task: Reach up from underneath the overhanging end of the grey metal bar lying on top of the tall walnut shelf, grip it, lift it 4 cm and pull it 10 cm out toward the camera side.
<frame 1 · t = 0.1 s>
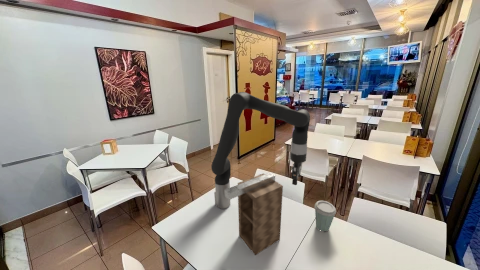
hand: (296, 180, 100), 29 cm above the table, fingers open, 8 cm apart
walnut shelf: (259, 237, 102), on the table
metal bar: (251, 187, 90), point 32 cm above the table, touching walnut shelf
disposable coffee cup: (322, 228, 107), on the table
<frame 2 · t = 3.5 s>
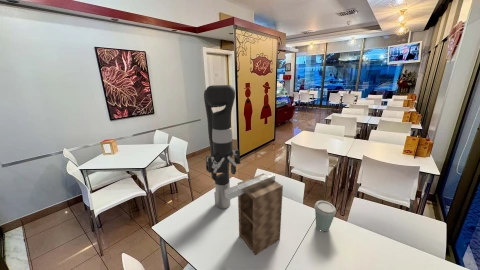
hand: (224, 176, 79), 42 cm above the table, fingers open, 8 cm apart
nothing on the table moved.
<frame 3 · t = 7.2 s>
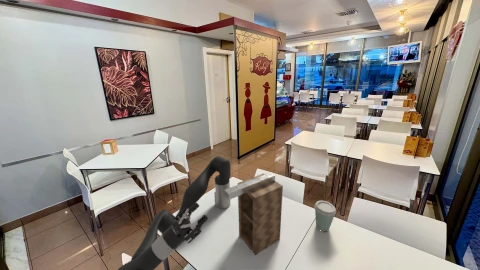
hand: (202, 209, 77), 31 cm above the table, fingers open, 8 cm apart
nothing on the table moved.
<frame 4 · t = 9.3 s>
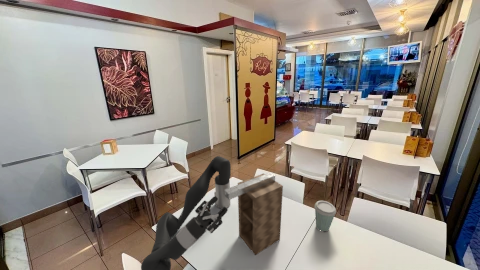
hand: (221, 202, 82), 31 cm above the table, fingers open, 8 cm apart
nothing on the table moved.
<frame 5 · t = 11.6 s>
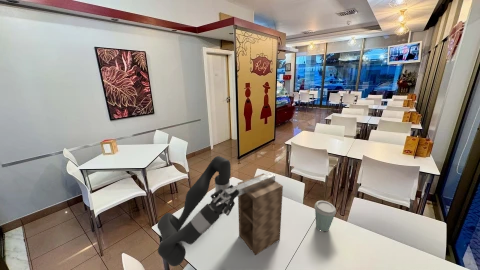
hand: (235, 188, 84), 35 cm above the table, fingers closed on metal bar, 3 cm apart
metal bar: (251, 187, 90), point 32 cm above the table, touching gripper, walnut shelf
everything else where it was.
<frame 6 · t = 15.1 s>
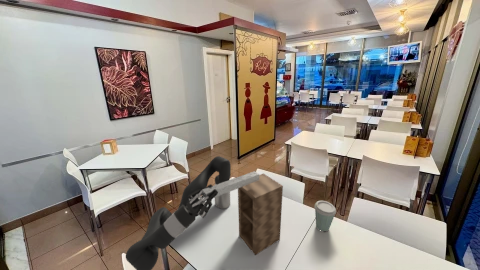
hand: (214, 188, 78), 39 cm above the table, fingers closed on metal bar, 3 cm apart
metal bar: (232, 187, 83), point 36 cm above the table, touching gripper
everything else where it was.
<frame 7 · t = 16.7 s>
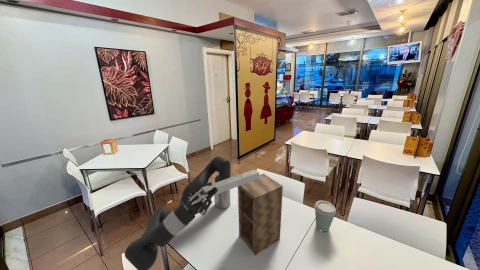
hand: (213, 186, 78), 40 cm above the table, fingers closed on metal bar, 3 cm apart
metal bar: (232, 185, 83), point 37 cm above the table, touching gripper
everything else where it was.
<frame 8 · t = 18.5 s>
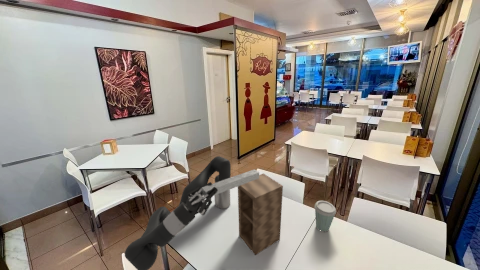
hand: (213, 186, 78), 40 cm above the table, fingers closed on metal bar, 3 cm apart
metal bar: (232, 185, 83), point 37 cm above the table, touching gripper
everything else where it was.
at the end: the gripper is holding metal bar; metal bar moved 11.1 cm from its start; metal bar point 36.9 cm above the table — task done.
